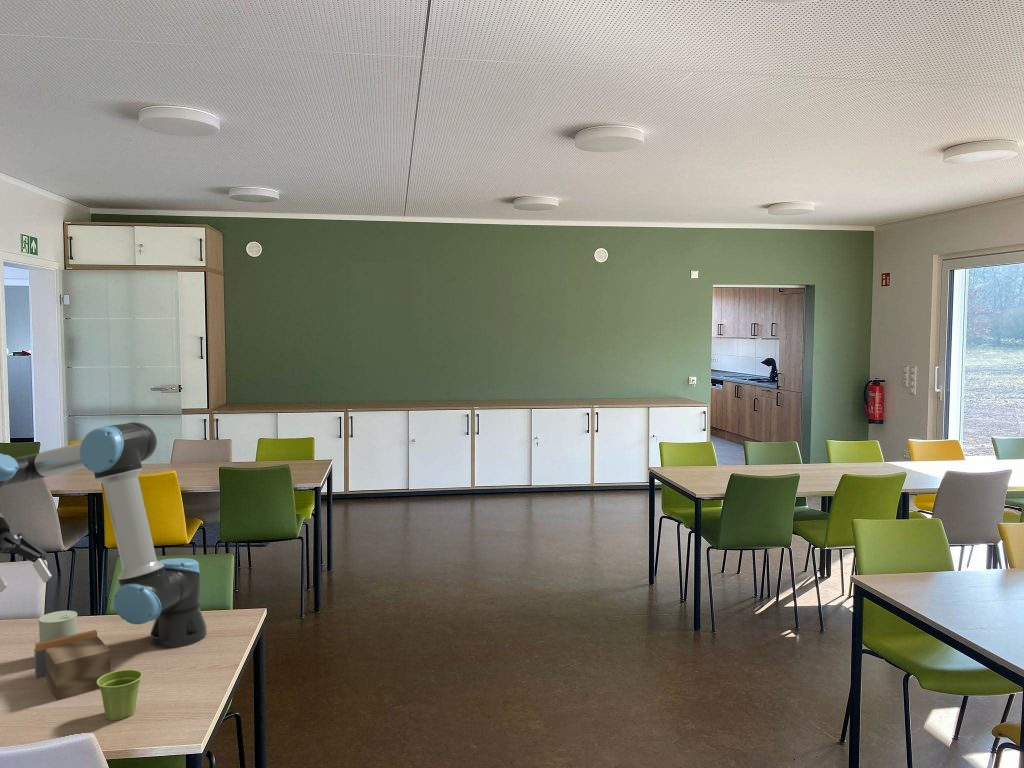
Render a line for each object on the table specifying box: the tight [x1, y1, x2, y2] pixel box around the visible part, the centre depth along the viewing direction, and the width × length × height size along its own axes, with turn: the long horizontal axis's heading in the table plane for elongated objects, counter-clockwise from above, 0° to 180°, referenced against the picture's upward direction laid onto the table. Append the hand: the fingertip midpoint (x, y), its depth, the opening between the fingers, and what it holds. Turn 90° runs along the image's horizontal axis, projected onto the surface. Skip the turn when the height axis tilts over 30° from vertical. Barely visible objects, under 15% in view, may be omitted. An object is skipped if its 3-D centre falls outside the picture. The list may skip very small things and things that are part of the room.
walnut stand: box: [45, 636, 112, 701], centre depth 189 cm, size 12×12×9 cm
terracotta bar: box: [34, 629, 98, 651], centre depth 198 cm, size 14×2×2 cm, turn 132°
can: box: [38, 610, 78, 642], centre depth 205 cm, size 9×9×12 cm
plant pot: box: [97, 669, 143, 721], centre depth 174 cm, size 9×9×9 cm
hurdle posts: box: [33, 635, 99, 679], centre depth 198 cm, size 14×2×7 cm, turn 132°
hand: (26, 584), depth 206 cm, fingers open, 13 cm apart
